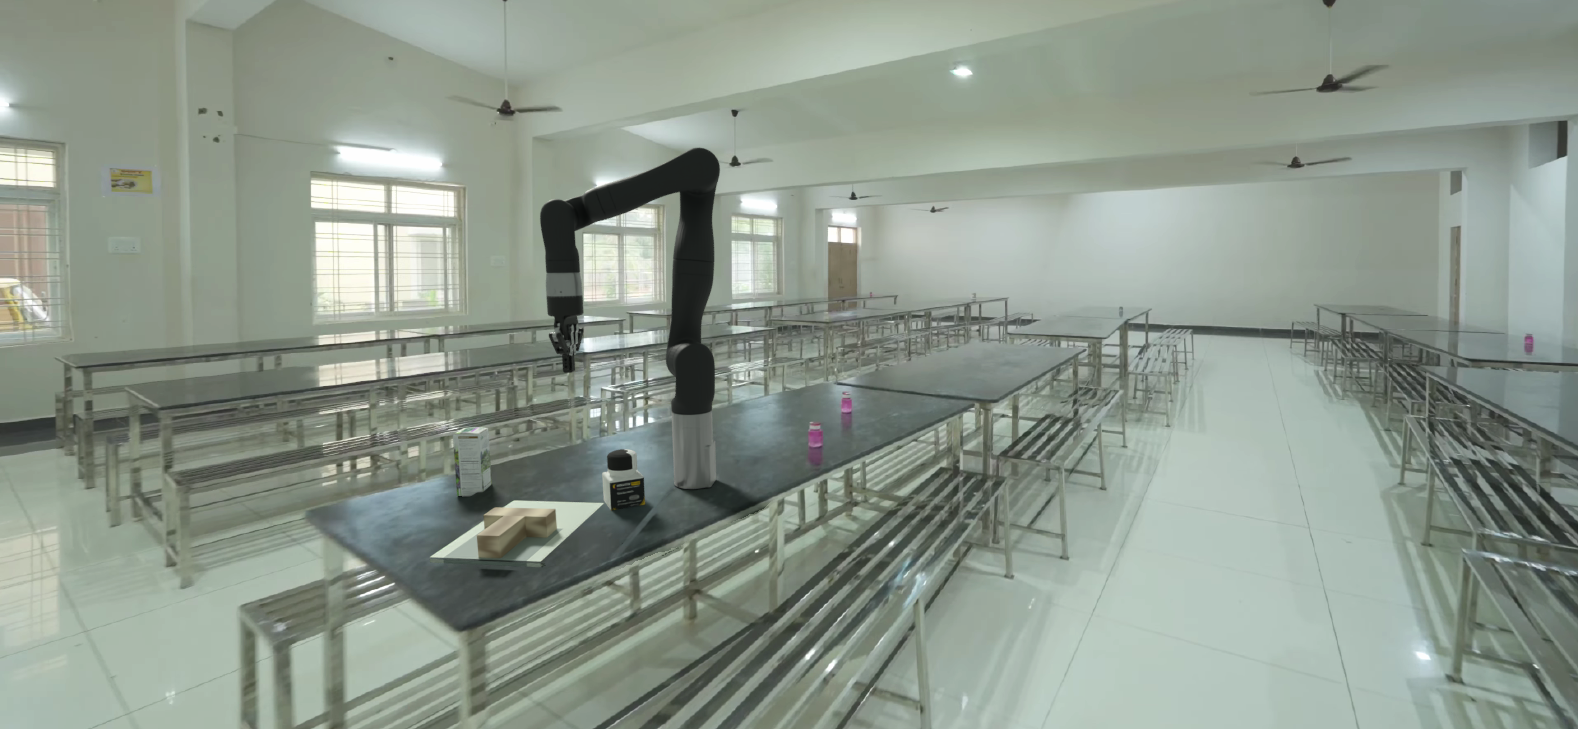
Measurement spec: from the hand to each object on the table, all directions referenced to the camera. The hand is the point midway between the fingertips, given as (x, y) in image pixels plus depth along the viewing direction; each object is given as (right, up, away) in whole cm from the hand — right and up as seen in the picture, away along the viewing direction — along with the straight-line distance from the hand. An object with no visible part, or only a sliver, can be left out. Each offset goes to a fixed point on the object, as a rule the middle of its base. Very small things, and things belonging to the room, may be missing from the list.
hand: (569, 372), depth 148 cm
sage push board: (-1, -30, -21) cm, 37 cm away
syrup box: (-22, -27, +2) cm, 35 cm away
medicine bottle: (+14, -29, -7) cm, 33 cm away
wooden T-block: (-2, -30, -28) cm, 41 cm away
